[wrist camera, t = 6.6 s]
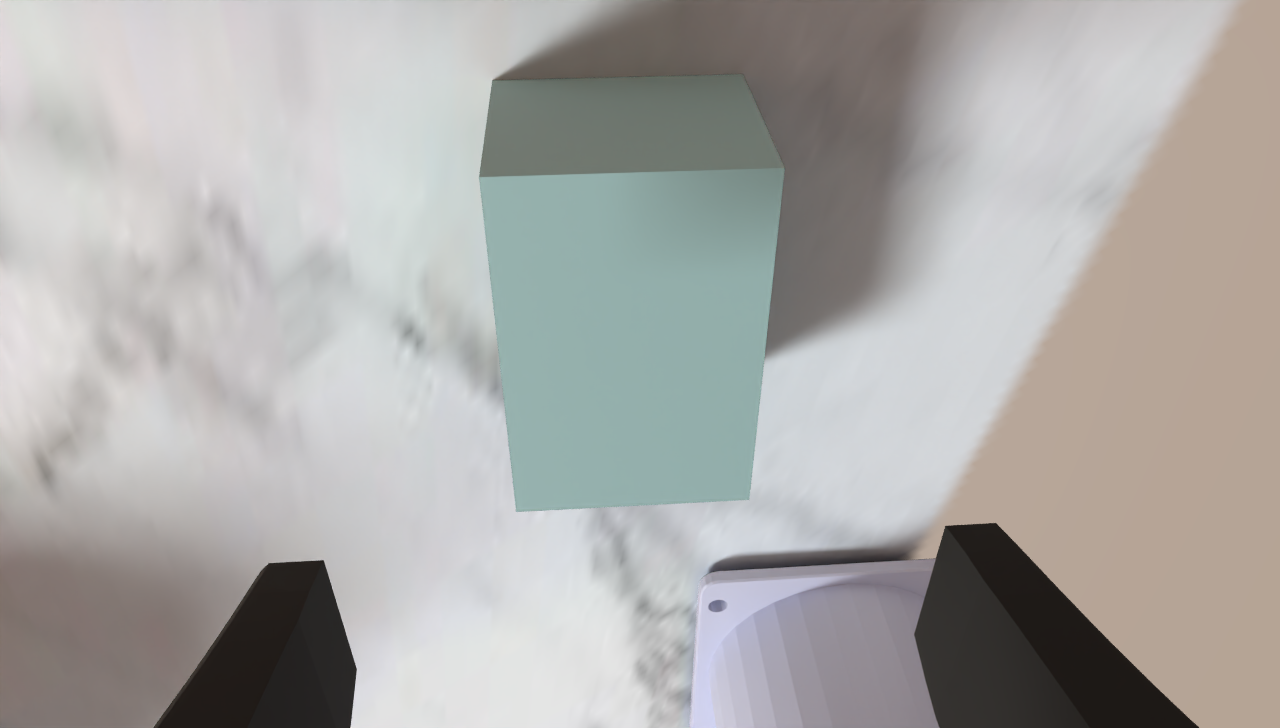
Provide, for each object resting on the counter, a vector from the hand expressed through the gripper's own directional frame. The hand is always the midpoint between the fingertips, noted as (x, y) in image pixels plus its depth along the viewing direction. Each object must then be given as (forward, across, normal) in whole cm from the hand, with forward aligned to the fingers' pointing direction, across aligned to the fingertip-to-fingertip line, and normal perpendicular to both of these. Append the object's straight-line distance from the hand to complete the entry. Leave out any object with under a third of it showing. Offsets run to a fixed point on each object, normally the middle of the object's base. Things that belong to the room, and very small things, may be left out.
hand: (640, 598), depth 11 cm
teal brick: (+10, 0, +1) cm, 10 cm away
